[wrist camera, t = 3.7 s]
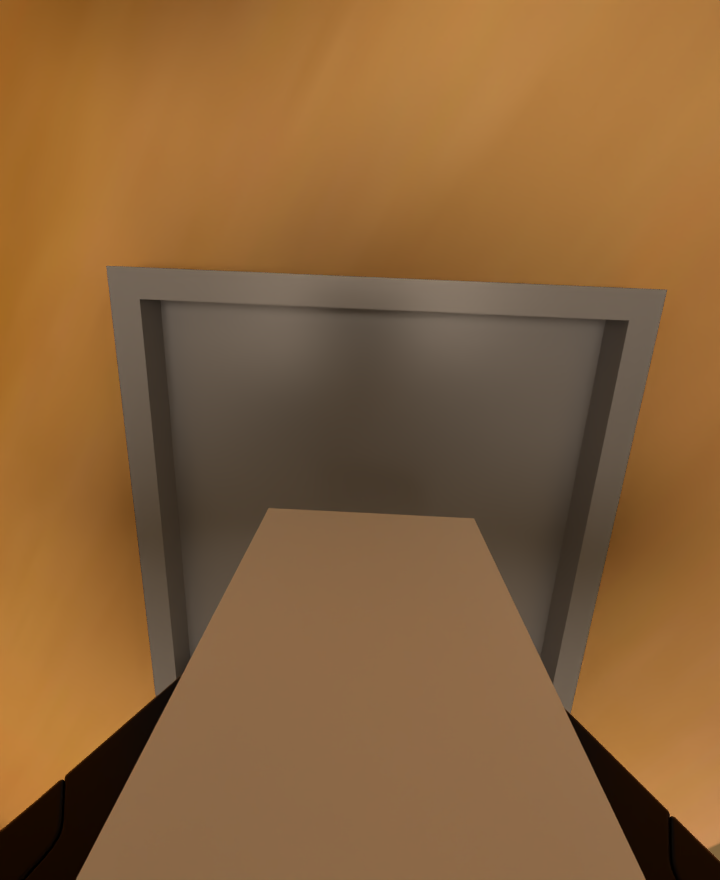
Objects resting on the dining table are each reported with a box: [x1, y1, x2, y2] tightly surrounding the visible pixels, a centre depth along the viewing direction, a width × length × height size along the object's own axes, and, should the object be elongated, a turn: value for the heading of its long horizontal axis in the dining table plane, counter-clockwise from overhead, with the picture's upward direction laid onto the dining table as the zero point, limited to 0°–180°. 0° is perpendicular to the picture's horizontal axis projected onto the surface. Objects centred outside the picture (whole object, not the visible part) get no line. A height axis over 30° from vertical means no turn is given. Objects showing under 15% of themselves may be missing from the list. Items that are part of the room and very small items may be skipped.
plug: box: [76, 508, 646, 880], centre depth 6 cm, size 4×4×9 cm
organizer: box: [106, 266, 667, 713], centre depth 16 cm, size 15×28×2 cm, turn 178°
